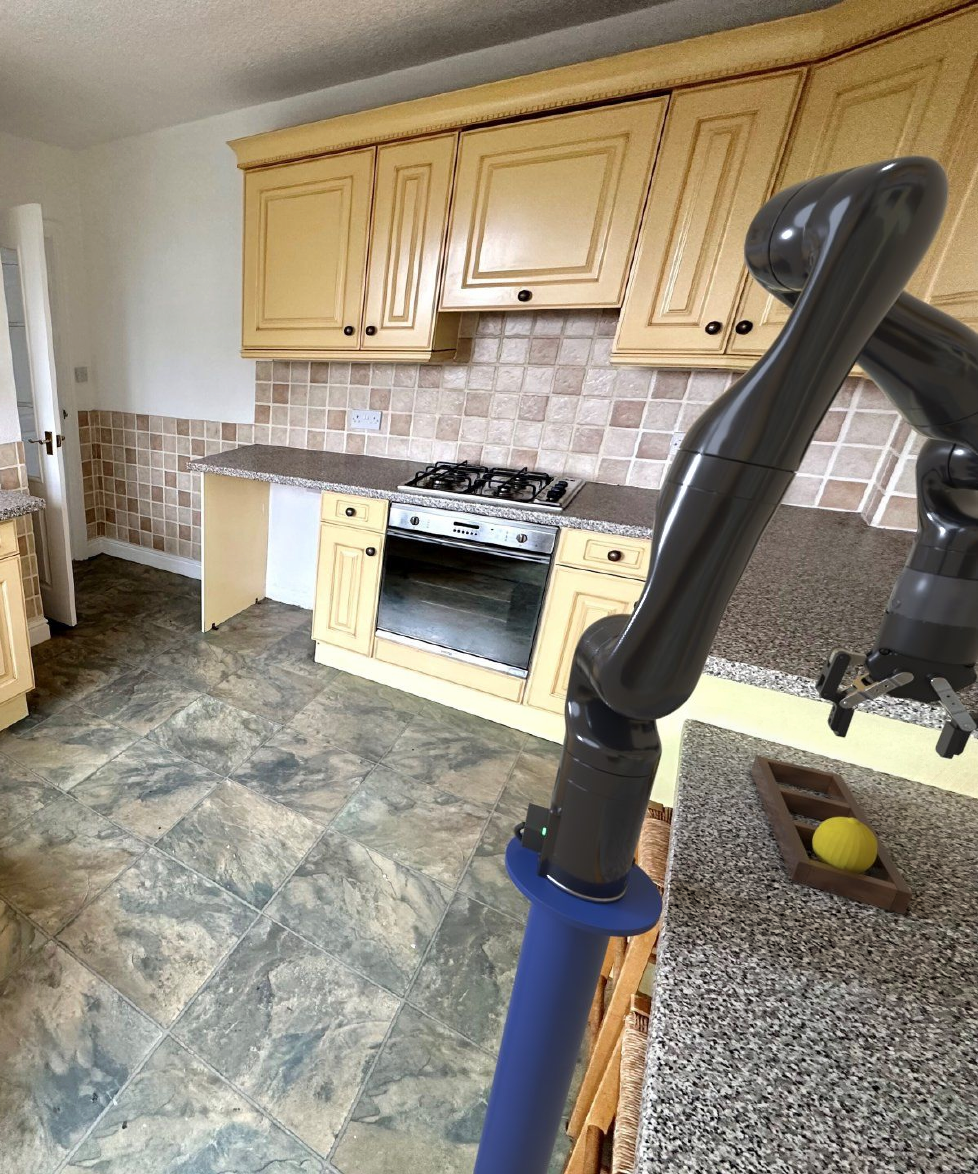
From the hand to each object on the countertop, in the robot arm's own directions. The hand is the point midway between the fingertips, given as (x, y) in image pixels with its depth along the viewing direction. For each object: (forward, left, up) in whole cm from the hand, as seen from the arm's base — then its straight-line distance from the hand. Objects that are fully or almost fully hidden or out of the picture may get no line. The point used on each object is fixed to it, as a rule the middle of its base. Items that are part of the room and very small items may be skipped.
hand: (888, 744), depth 72 cm
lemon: (0, +2, -20) cm, 20 cm away
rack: (0, +11, -19) cm, 22 cm away
